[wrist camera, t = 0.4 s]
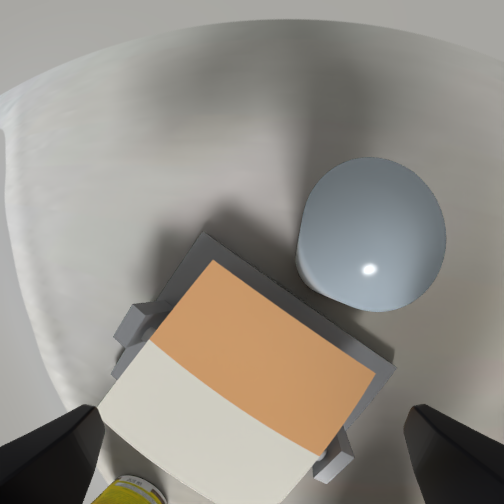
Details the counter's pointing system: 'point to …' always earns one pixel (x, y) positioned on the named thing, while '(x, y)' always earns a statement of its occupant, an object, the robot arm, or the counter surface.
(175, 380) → the two-tone square pad
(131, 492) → the supplement bottle
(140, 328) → the switch base
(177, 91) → the counter surface
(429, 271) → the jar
